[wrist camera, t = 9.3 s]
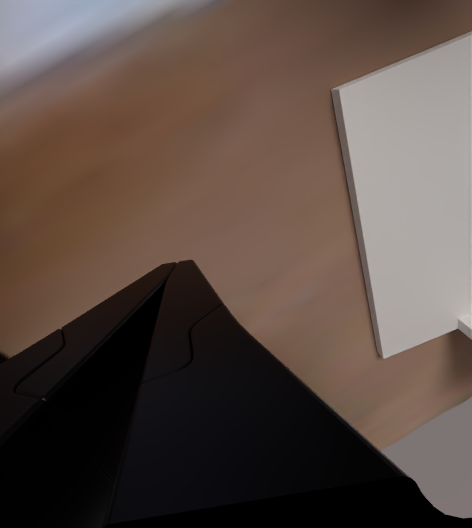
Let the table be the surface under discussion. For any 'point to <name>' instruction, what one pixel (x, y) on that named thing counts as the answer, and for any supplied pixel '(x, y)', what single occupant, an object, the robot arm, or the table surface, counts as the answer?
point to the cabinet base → (412, 191)
